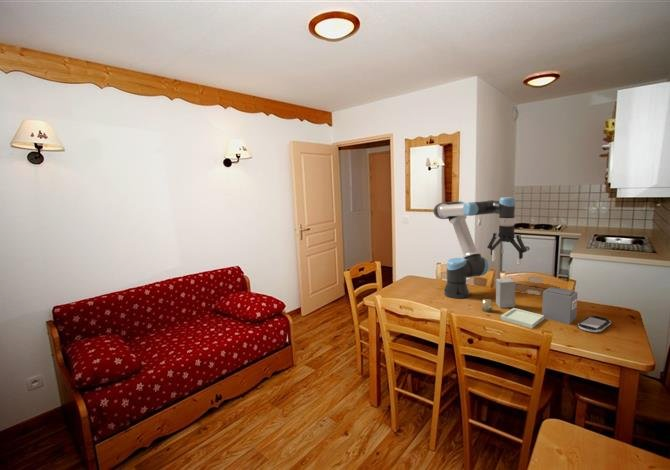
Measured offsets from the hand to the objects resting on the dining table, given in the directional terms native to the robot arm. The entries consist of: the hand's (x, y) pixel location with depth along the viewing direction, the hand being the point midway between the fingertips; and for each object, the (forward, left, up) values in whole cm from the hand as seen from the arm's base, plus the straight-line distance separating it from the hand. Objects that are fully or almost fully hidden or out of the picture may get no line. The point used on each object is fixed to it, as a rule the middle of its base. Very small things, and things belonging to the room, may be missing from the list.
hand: (506, 262), depth 179 cm
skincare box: (0, 0, -26) cm, 26 cm away
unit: (+26, +2, -26) cm, 37 cm away
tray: (+14, -12, -26) cm, 32 cm away
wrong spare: (-4, -13, -26) cm, 29 cm away
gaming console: (+40, +3, -26) cm, 48 cm away
